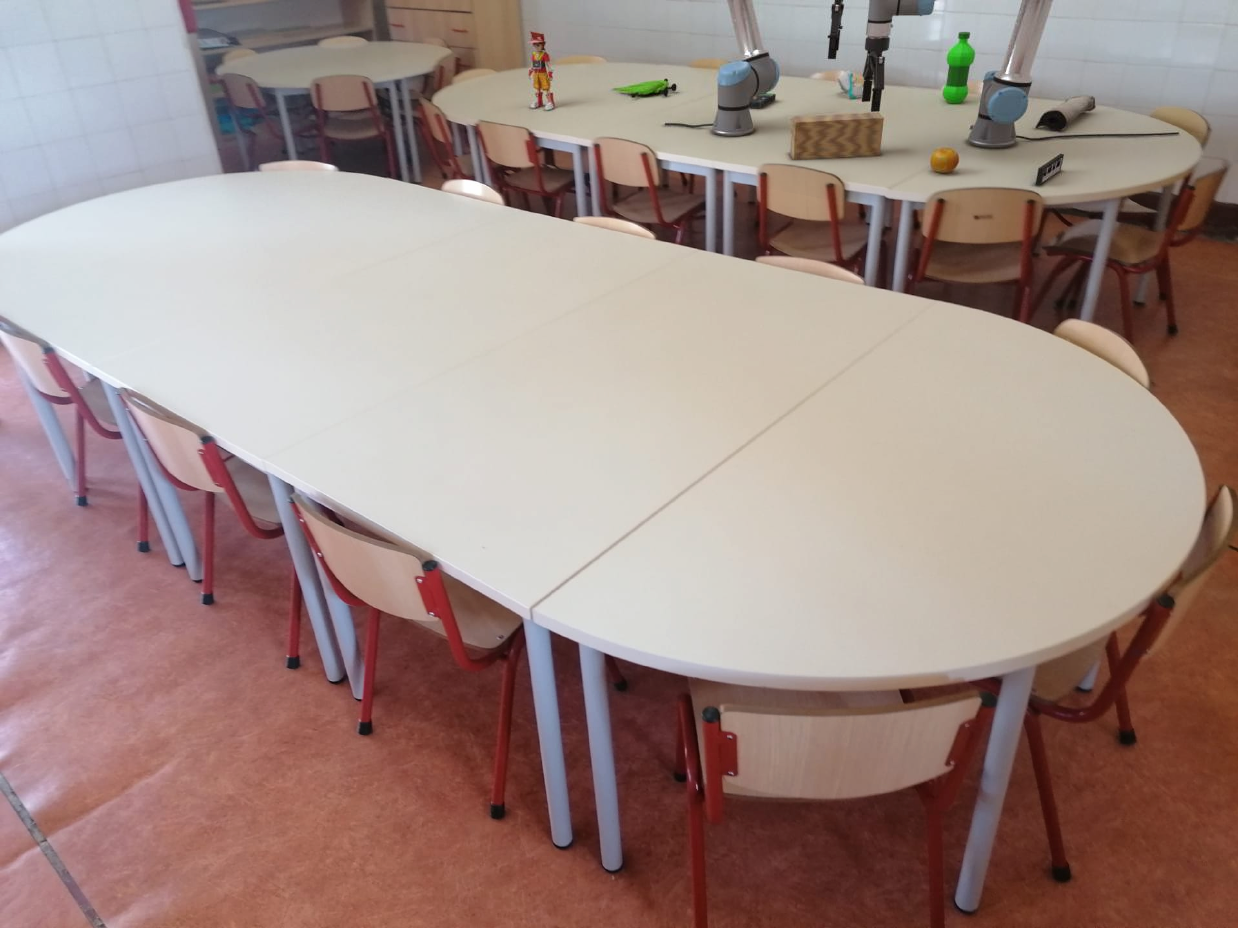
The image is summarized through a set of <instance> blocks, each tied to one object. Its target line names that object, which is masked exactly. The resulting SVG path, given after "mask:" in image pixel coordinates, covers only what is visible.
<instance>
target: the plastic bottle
mask: <svg viewBox="0 0 1238 928" xmlns="http://www.w3.org/2000/svg"><path fill="white" fill-rule="evenodd" d="M970 36H971V32H970V31H959V32H958V36H957V39H958V42H957V43H956V44H954V45H953V46H952V47H951V48H950V49H949V50H948V52H947V54H946V63H947V64H948V69H947V70H948V71H947V76H946V77H947V78H946V84H945V85H944V87H943V90H942V97H943V99H944V100H945V101H946V102H947V103H948V104H960V103H961V102H963V101H964V100H966V98H967V96H968V95H969V85H968V79H969V73H970V67H971V65H972V64H973V63H974V61H975V57H976V51H975V49H974V47H972V45H971V44H970V43H969V42H968V41H969V39H970V38H971V37H970Z"/></svg>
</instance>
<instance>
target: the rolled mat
mask: <svg viewBox="0 0 1238 928" xmlns="http://www.w3.org/2000/svg"><path fill="white" fill-rule="evenodd" d="M1096 107H1097V106H1096V98H1095V96H1094V95H1085V94H1084V95H1077V96H1071V97H1068V98H1066V99H1065V101H1064V102H1062V103H1060V104H1059V105H1056V106H1054V107H1052V108H1051V109H1049V110H1047V111H1045V112H1044V113H1043V114H1042V115H1041V116H1040V118H1039V120H1038V122H1037V124H1036V125H1035V129H1038V128H1041V127H1046V128H1048V130H1052V131H1056V132H1057V131H1058V132H1062V131H1063V130H1065V129H1066V128H1067V127H1068V126H1069V125H1070V124H1071V123H1072V122H1073V120H1075V119H1076V118H1077V117H1079V116H1080V115H1081V114H1082V113H1087V112H1092V111H1094V110H1095V109H1096Z"/></svg>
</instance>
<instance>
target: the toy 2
mask: <svg viewBox="0 0 1238 928" xmlns="http://www.w3.org/2000/svg"><path fill="white" fill-rule="evenodd" d="M669 85H670V83H669V79H668V78H664V79H663V80H649V81H644V82H640V83H634V84H629V85H627V86H621V87H613V88H612V89H613V90H616V91H619V92H623V93H627V94H628V93H629V94H631V95H630V96H631V98H632V99H634V98H636V96H637V95H650V94H652V93H654V94H658V93H662V95H663V96H665V97H667V96H668V95H669V90H671V91H672V92H676V91H677V84H676V83H672V84H671V86H669Z"/></svg>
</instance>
